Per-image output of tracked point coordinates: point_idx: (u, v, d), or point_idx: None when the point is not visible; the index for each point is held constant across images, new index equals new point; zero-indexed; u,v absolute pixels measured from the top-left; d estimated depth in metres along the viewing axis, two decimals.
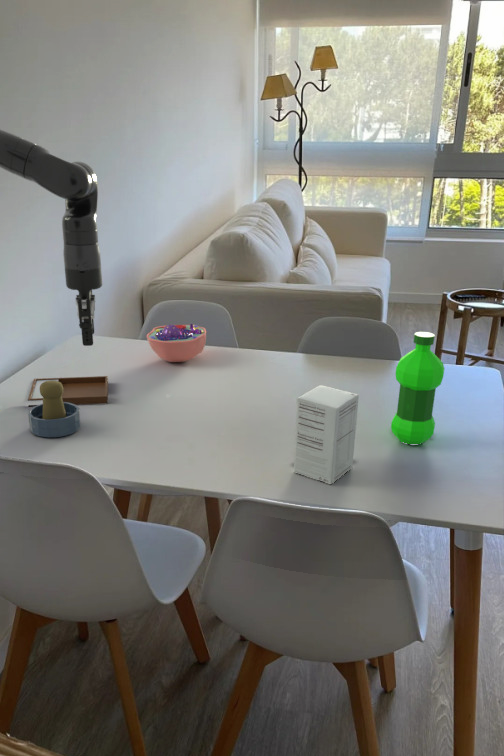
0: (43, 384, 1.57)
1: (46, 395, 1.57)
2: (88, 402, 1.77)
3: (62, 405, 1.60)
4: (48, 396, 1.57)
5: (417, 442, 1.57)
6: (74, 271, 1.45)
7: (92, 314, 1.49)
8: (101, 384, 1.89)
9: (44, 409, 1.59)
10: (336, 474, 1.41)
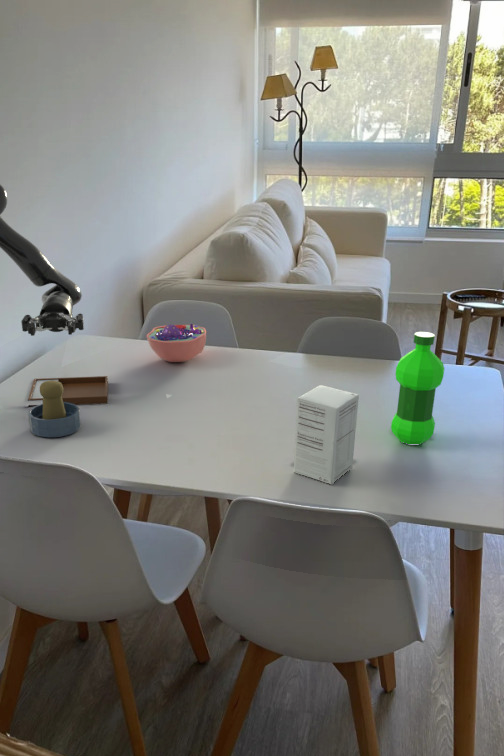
0: (43, 384, 1.57)
1: (46, 395, 1.57)
2: (88, 402, 1.77)
3: (62, 405, 1.60)
4: (48, 396, 1.57)
5: (417, 442, 1.57)
6: (69, 307, 1.78)
7: None
8: (101, 384, 1.89)
9: (44, 409, 1.59)
10: (336, 474, 1.41)
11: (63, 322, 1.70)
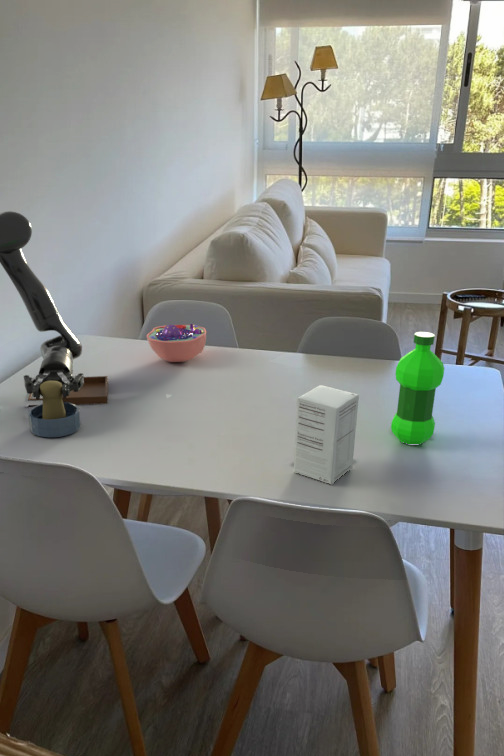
0: (43, 384, 1.57)
1: (46, 395, 1.57)
2: (88, 402, 1.77)
3: (62, 405, 1.60)
4: (48, 396, 1.57)
5: (417, 442, 1.57)
6: (70, 364, 1.71)
7: None
8: (101, 384, 1.89)
9: (44, 409, 1.59)
10: (336, 474, 1.41)
11: (60, 382, 1.63)
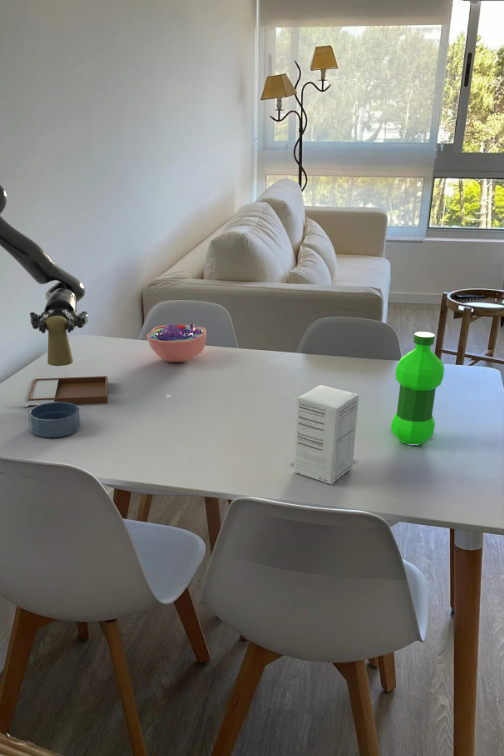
0: (48, 319, 1.64)
1: (51, 329, 1.64)
2: (88, 402, 1.77)
3: (66, 340, 1.67)
4: (53, 330, 1.64)
5: (417, 442, 1.57)
6: (74, 303, 1.78)
7: None
8: (101, 384, 1.89)
9: (49, 343, 1.66)
10: (336, 474, 1.41)
11: None
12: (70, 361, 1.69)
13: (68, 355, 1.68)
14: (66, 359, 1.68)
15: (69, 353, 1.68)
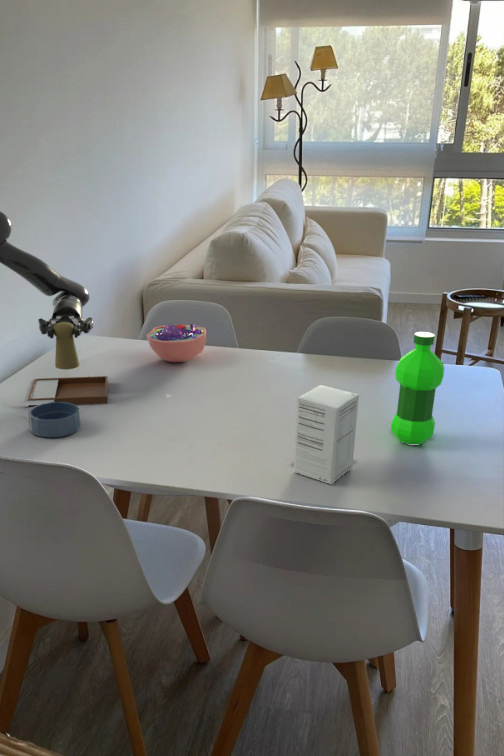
0: (56, 325, 1.74)
1: (59, 335, 1.74)
2: (88, 402, 1.77)
3: (73, 344, 1.77)
4: (61, 336, 1.74)
5: (417, 442, 1.57)
6: (80, 310, 1.88)
7: None
8: (101, 384, 1.89)
9: (57, 348, 1.76)
10: (336, 474, 1.41)
11: None
12: (77, 365, 1.79)
13: (74, 359, 1.78)
14: (73, 363, 1.77)
15: (76, 357, 1.78)
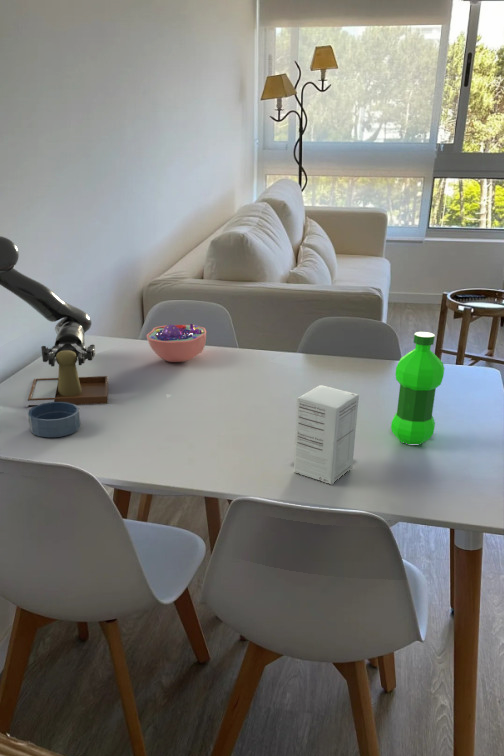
0: (59, 353, 1.77)
1: (62, 363, 1.77)
2: (88, 402, 1.77)
3: (76, 372, 1.80)
4: (63, 364, 1.77)
5: (417, 442, 1.57)
6: (82, 337, 1.91)
7: None
8: (101, 384, 1.89)
9: (60, 375, 1.79)
10: (336, 474, 1.41)
11: (75, 352, 1.83)
12: (79, 392, 1.82)
13: (77, 386, 1.81)
14: (75, 390, 1.81)
15: (78, 384, 1.81)
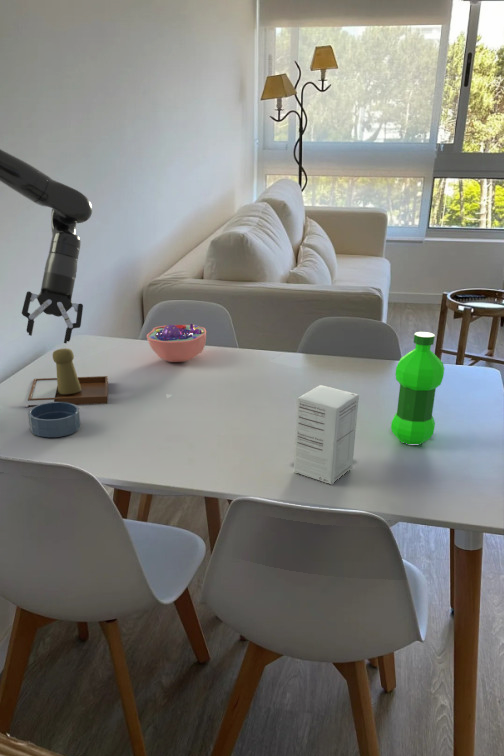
0: (55, 351, 1.78)
1: (58, 360, 1.77)
2: (88, 402, 1.77)
3: (73, 369, 1.80)
4: (60, 361, 1.77)
5: (417, 442, 1.57)
6: (73, 280, 1.74)
7: None
8: (101, 384, 1.89)
9: (58, 374, 1.79)
10: (336, 474, 1.41)
11: None
12: (78, 389, 1.81)
13: (75, 383, 1.81)
14: (74, 387, 1.80)
15: (77, 381, 1.81)
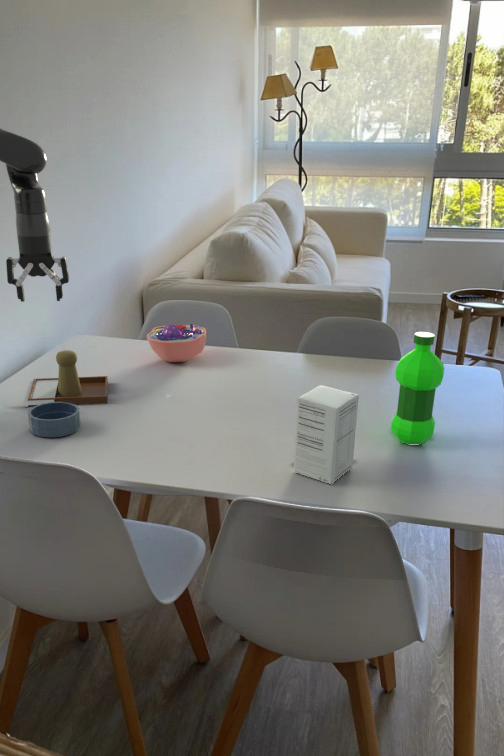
0: (59, 353, 1.77)
1: (62, 363, 1.77)
2: (88, 402, 1.77)
3: (76, 372, 1.80)
4: (63, 364, 1.77)
5: (417, 442, 1.57)
6: (48, 236, 1.66)
7: (54, 272, 1.73)
8: (101, 384, 1.89)
9: (60, 376, 1.79)
10: (336, 474, 1.41)
11: None
12: (79, 392, 1.82)
13: (77, 386, 1.81)
14: (75, 390, 1.81)
15: (78, 384, 1.81)
